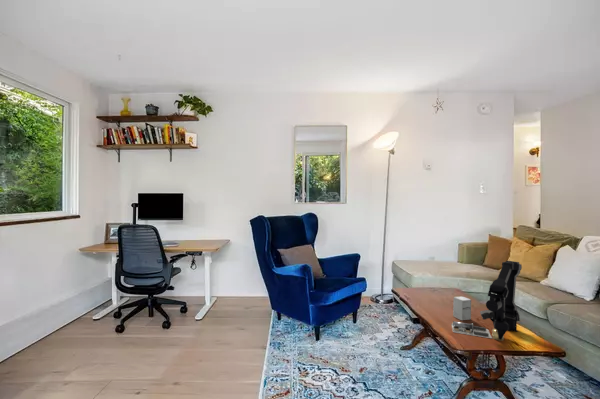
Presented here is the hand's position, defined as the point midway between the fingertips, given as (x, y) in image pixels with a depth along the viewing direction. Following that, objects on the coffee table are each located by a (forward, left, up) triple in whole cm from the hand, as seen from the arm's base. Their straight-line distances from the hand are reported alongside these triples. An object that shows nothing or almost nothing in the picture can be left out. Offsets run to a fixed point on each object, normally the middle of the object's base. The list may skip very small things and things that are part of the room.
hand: (498, 335), depth 164 cm
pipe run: (+12, -5, -2) cm, 13 cm away
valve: (0, 0, -2) cm, 2 cm away
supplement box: (+15, -25, -2) cm, 29 cm away
